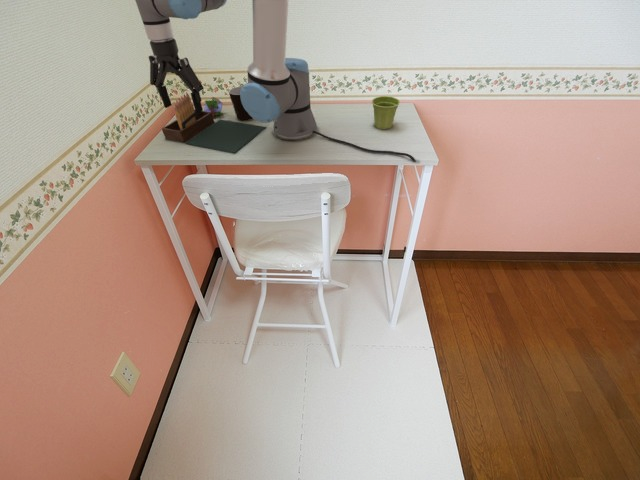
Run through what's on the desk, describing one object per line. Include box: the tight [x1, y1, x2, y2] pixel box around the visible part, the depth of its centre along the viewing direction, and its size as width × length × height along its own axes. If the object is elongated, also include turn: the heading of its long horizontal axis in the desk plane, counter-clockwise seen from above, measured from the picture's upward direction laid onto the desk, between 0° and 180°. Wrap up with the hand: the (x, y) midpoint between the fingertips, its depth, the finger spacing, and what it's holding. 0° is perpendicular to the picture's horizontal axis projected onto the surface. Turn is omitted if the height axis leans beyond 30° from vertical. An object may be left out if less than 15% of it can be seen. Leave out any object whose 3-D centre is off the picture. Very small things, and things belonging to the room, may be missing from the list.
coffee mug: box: [228, 85, 254, 122], centre depth 125 cm, size 12×9×10 cm
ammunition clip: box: [172, 92, 198, 131], centre depth 116 cm, size 11×2×12 cm, turn 169°
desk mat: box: [185, 119, 266, 155], centre depth 116 cm, size 20×20×1 cm
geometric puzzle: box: [203, 96, 224, 119], centre depth 127 cm, size 7×7×8 cm
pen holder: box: [161, 110, 215, 144], centre depth 119 cm, size 8×17×4 cm, turn 157°
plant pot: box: [371, 95, 401, 130], centre depth 114 cm, size 9×9×9 cm
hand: (183, 109), depth 115 cm, fingers open, 13 cm apart
